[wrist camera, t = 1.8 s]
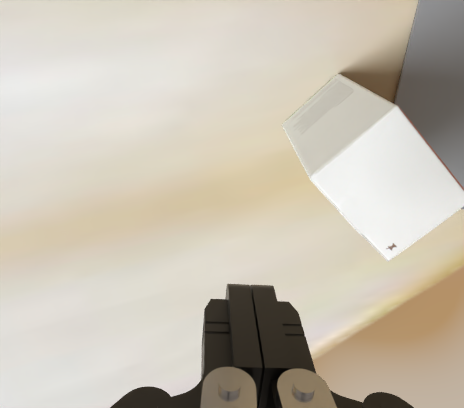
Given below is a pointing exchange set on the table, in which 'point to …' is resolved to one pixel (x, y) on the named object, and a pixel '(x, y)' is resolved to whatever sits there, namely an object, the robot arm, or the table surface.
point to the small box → (373, 165)
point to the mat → (436, 80)
